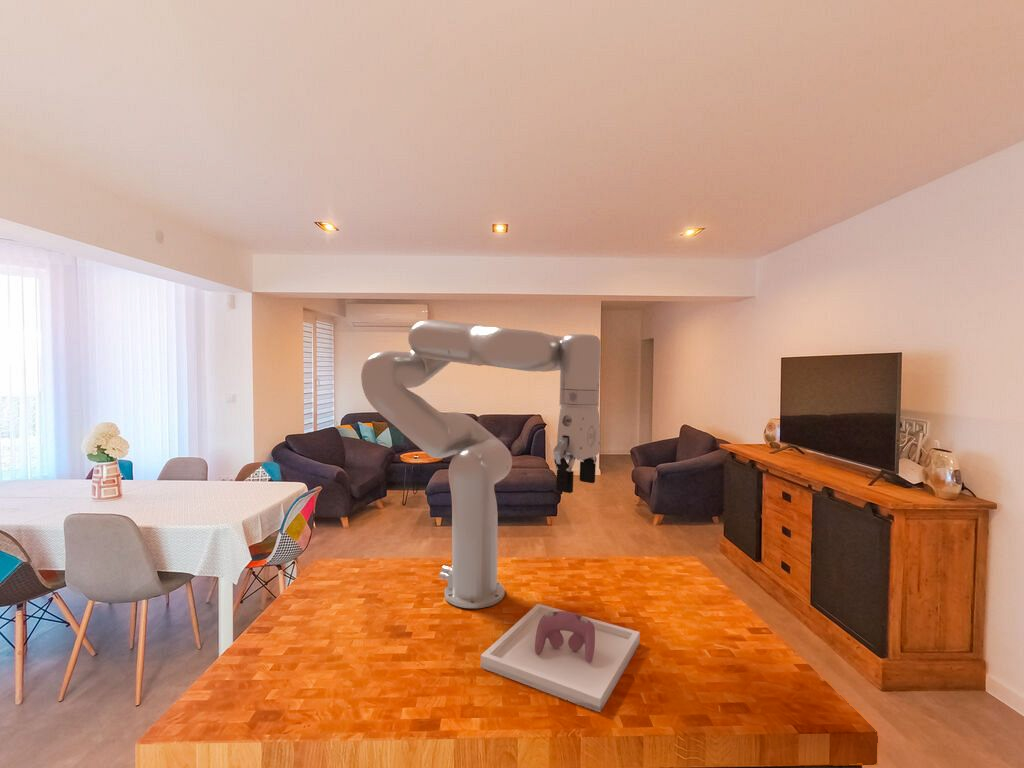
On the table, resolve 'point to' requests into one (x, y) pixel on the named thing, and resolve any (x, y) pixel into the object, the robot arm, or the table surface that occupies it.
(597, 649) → the tray
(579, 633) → the video game controller
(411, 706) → the table surface
